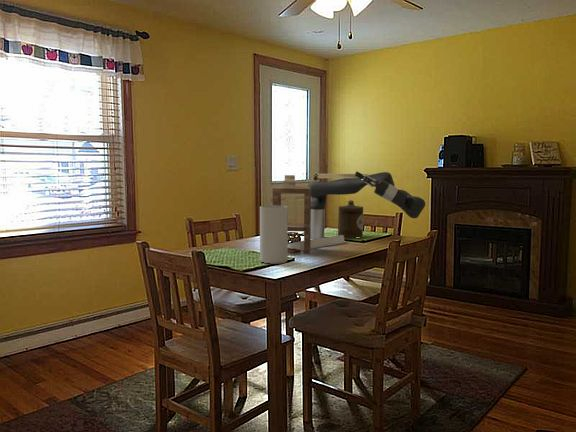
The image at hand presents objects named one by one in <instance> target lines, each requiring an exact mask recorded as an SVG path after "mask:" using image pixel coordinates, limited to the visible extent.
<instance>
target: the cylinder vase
mask: <svg viewBox="0 0 576 432" xmlns="http://www.w3.org/2000/svg"><path fill="white" fill-rule="evenodd" d="M288 207H289V206H288V205H281V206H278V205H273V204H272V205H260V206H259V261H260V262H261V263H262V262H264V263H263V264H267V263H270V264H269V265H278V264H285V263H287V262H288V258H289V257H288V250H289V248H288V244H289V242H288V237H289V235H288V233H289V231H288V223H289V221H288V217H289V216H288V213H289V209H288Z"/></svg>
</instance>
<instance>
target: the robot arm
mask: <svg viewBox="0 0 576 432" xmlns="http://www.w3.org/2000/svg"><path fill="white" fill-rule="evenodd" d="M354 174H355V176H357V177H359V178H337V179H334V180H330V181H312V182H310V183H309V184H308V185H307V186H306V187H311V240H313V239H319V238H325V221H326V220H325V217H326V216H325V215H326V214H325V213H326V211H325V209H326V208H325V206H326V204H327V196H328V195H329V196H330V195H337V196H339V195H341V196H342V195H345V196H346V195H355V194H357V193H359V192H360V191H361V190H362V189H363V188H365V187H366V186H369V187H371V188H373V187H374V188H375V189H374V191H373V193H374V194H375V195H377V196H379V197H381V198H383V199H384V200H386V201H388V202H390V203H393V204H394V205H395V206H398V207H399V208H400V209H401V210H402V211H403V212H404V213H405V214H406V215H407V217H409V218H410V219H418V218H419V216H420V215H421V213H422V211H423V210H424V208H425V207H426V201H425V199H423V198H421V197H420V196H414V195H412V194H410V193H409V192H408V191H406V190H404V189H399V188H397V187H396V186H395V181H394V179H393V175H392V174H391V173H390V172H388V171H384V172H383V171H382V172H377V173H372V174H368V177H367V176H365V175H363V174H364V173H361V172H359V171H355V173H354Z"/></svg>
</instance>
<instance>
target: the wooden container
mask: <svg viewBox="0 0 576 432" xmlns="http://www.w3.org/2000/svg"><path fill="white" fill-rule="evenodd" d="M354 202H355V201H353V200H350V199H349V200H348V201H347V205H340V206H338V217H337V218H338V219H337V220H338V221H337V236H340V235H343V236H344V237H345V238H344V239H346V238H356V237H362V236H363V235H364V234H363V233H364V232H363V231H364V230H363V229H364V206H362V205H361V206H360V205H355V204H354ZM362 238H363V237H362Z"/></svg>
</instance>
